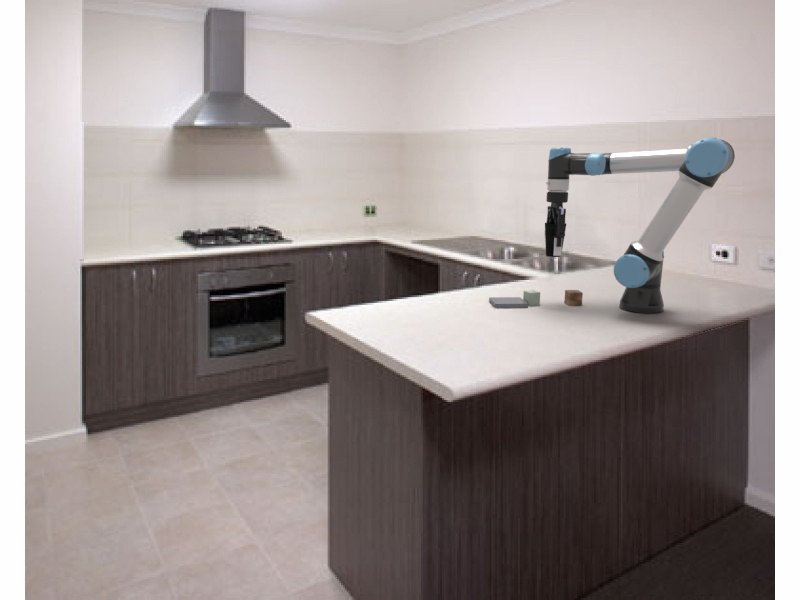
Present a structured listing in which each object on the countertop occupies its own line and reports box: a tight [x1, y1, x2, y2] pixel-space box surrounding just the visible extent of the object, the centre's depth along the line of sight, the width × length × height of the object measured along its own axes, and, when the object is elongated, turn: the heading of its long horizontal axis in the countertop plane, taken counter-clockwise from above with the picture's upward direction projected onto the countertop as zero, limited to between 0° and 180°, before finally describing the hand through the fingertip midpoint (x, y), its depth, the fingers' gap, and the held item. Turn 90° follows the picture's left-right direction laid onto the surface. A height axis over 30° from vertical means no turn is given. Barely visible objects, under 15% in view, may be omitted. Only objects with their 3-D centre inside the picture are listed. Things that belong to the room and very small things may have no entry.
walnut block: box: [563, 289, 584, 307], centre depth 238 cm, size 5×5×5 cm
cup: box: [544, 221, 567, 258], centre depth 233 cm, size 8×8×12 cm
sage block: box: [522, 289, 541, 307], centre depth 237 cm, size 4×4×5 cm
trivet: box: [488, 296, 529, 309], centre depth 237 cm, size 12×11×2 cm
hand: (553, 253), depth 234 cm, fingers closed on cup, 8 cm apart
